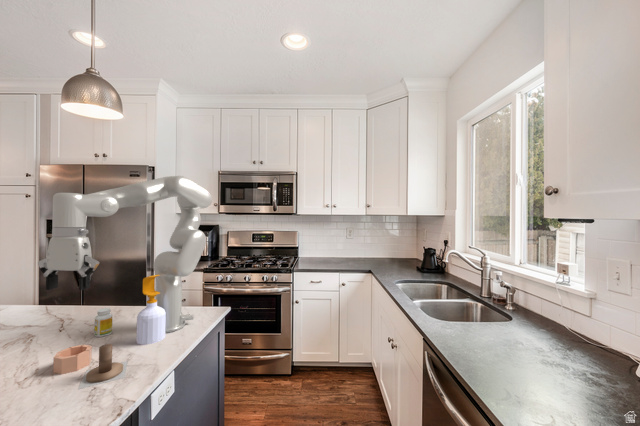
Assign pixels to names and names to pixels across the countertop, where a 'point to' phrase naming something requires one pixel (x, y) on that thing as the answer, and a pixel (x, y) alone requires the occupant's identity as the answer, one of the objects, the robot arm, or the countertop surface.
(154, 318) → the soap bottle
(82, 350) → the octagonal peach pot
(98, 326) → the supplement bottle
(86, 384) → the mat
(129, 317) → the countertop surface
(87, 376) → the lid
